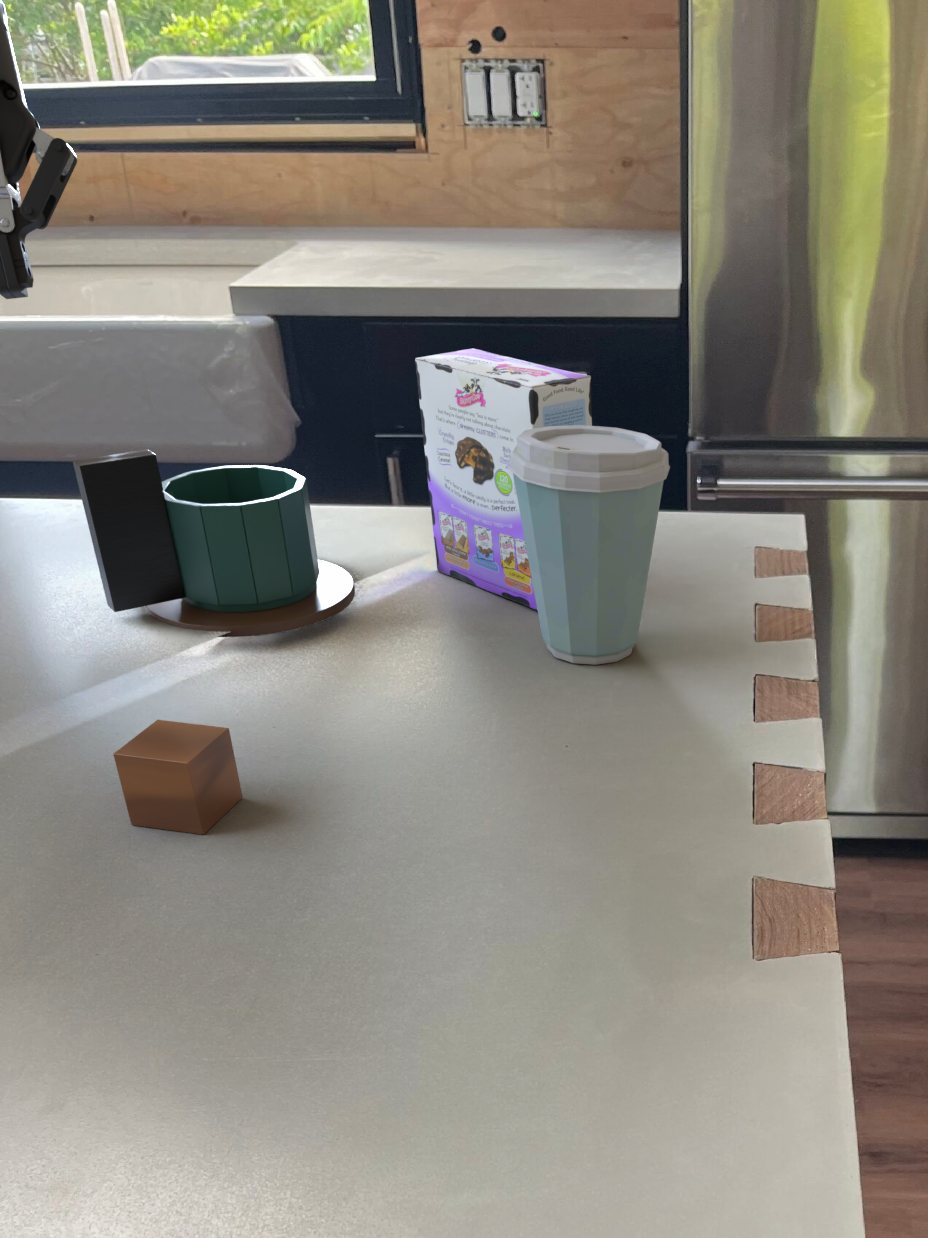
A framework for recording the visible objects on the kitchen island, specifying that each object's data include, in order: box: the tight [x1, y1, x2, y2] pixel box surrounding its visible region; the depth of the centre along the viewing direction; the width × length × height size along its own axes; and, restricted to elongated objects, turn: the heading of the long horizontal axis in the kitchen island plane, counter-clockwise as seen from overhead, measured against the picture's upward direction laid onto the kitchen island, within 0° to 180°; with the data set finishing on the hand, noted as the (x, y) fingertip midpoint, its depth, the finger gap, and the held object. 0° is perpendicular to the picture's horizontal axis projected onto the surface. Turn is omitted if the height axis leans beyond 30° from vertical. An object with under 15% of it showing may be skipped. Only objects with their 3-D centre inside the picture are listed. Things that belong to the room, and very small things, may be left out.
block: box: [112, 719, 243, 835], centre depth 74 cm, size 4×4×4 cm
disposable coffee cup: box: [508, 425, 671, 666], centre depth 91 cm, size 11×11×15 cm
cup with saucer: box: [72, 449, 356, 638], centre depth 95 cm, size 18×15×11 cm
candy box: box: [414, 348, 593, 611], centre depth 101 cm, size 14×6×16 cm, turn 46°
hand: (14, 295), depth 95 cm, fingers closed
